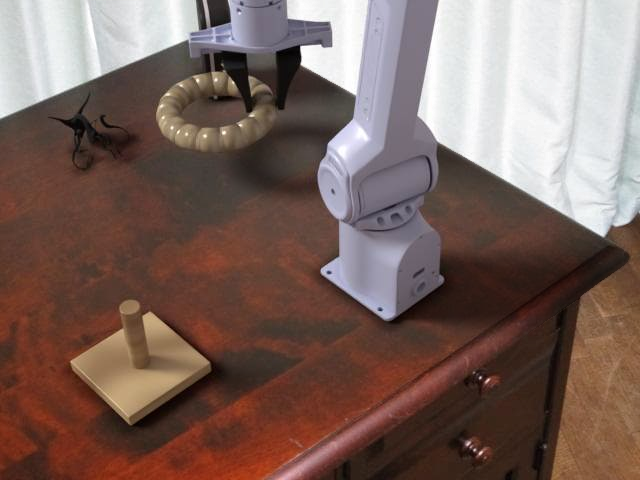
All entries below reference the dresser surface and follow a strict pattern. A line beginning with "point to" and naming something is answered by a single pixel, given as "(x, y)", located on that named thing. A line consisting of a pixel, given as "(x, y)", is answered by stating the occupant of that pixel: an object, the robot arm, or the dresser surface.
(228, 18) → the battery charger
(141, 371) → the stand
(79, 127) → the creature
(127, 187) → the dresser surface
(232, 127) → the segmented beige ring
